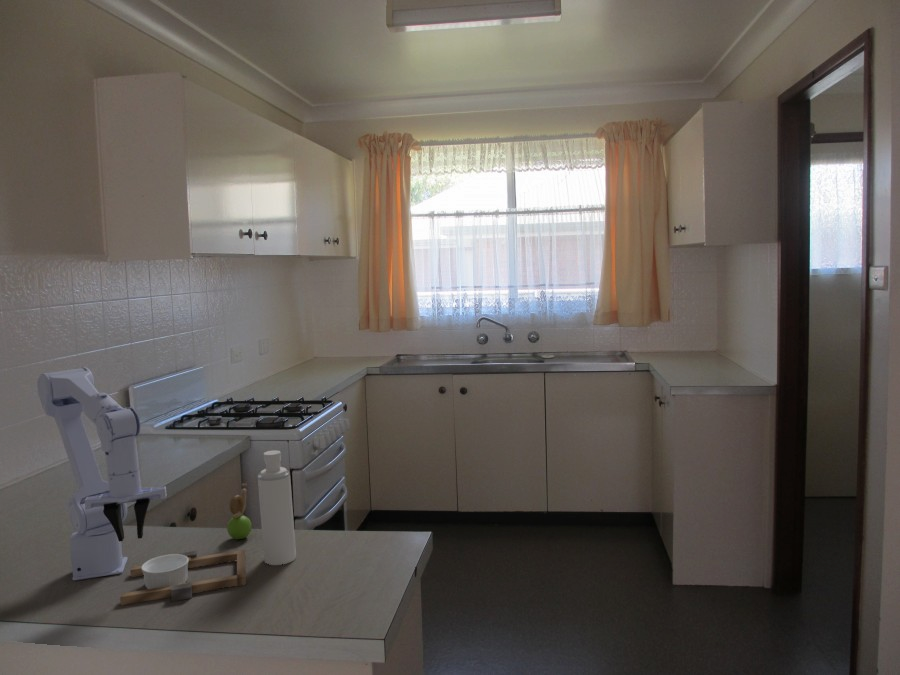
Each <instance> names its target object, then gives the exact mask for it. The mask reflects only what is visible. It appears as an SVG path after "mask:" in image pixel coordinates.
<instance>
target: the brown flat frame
mask: <svg viewBox="0 0 900 675" xmlns="http://www.w3.org/2000/svg"><path fill="white" fill-rule="evenodd" d="M197 553H198V552H197V550H193V551H187V552H180V553H178V554H180V555H185V556H187V557H188V559H189V562H188V568H189V569H194V567H195V568H199V566H202V567H205V566H204V565H208V566H212V564H214V565H218V564H217V563H221V564H223V563H222V562H227V563H230V562H229V561H234V562H236V574H235V575H229V576H222V577H216V578H211V579H209V578H208V579H204V580H197V581H191V582H187V581H186V582H183V583H179V584H178V585H171V586H165V587H159V588H153V589H147V588H146V589H142V590H135V591H134V590H133V591H129V592H123V593H121V594H120V597H119V599H120V605H121V606H125V605H130V604H137V603H143V602H149V601H155V600H161V599H165V598H166V599H167V598H168V599H169V598H171V602H176V601H181V600H188V599H192V598H193V594H196V593H203V591H204V592H210V591H215V589H217V590H220V589H219V588H223V589H225V588H224V587H229V588H232V587H231V586H235V587H237V586H236V585H241V586H245V585H244V584H247V582H246V581H247V580H246V579H247V578H246V577H247V575H246V573H247V570H246V568H247V567H246V565H245V562H246V549H243V550H242V549H241V550H236V551H235V550H234V551H227V552H222V553H220V552H219V553H214V554H209V555H208V554H207V555H201V556H198V554H197ZM235 560H237V561H235ZM142 565H143V564H142ZM142 565H135V566H130V570H129V574H130V578H135V577H144V576H143V572H142V569H141V567H142ZM209 590H210V591H209Z"/></svg>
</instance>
